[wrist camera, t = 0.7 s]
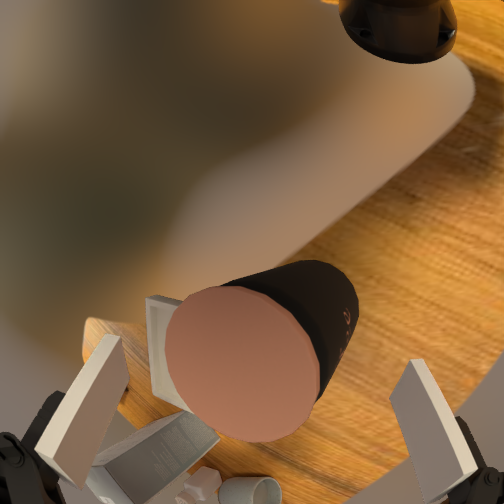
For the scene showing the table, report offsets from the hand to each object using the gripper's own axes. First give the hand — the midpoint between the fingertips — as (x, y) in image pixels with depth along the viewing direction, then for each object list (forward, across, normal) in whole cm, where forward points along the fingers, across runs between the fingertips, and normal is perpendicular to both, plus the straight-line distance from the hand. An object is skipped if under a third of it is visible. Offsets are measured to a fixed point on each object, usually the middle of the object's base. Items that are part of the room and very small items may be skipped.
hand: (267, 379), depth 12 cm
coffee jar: (+19, +6, -8) cm, 22 cm away
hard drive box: (+20, -10, -37) cm, 43 cm away
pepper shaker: (+15, -4, -45) cm, 47 cm away
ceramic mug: (+11, +5, -41) cm, 43 cm away
